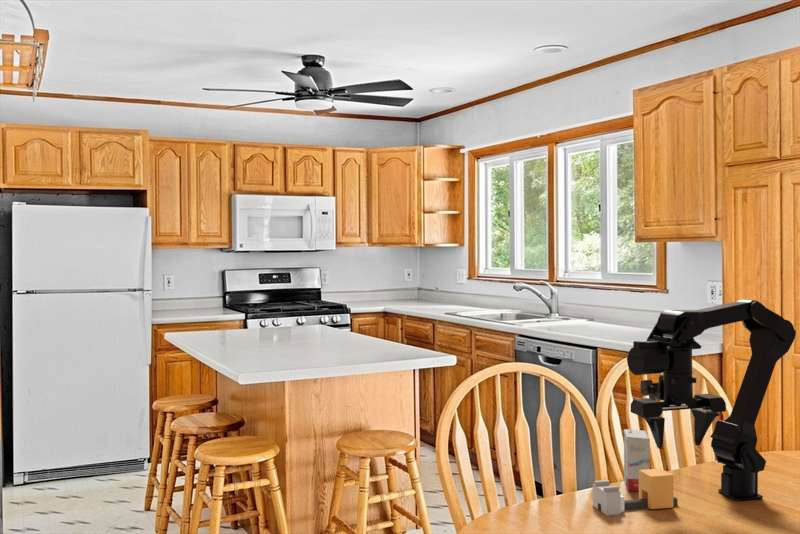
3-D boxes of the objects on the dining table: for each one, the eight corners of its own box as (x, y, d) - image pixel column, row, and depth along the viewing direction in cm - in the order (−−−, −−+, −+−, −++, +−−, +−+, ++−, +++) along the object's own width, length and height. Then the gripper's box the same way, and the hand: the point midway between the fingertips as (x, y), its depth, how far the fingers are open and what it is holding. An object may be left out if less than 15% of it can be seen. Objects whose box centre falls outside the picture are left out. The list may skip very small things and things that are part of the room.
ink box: (650, 492, 166) (650, 438, 165) (627, 491, 167) (627, 437, 166) (645, 481, 174) (646, 429, 174) (623, 479, 175) (623, 428, 175)
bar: (673, 503, 159) (673, 496, 159) (677, 505, 157) (677, 498, 157) (597, 509, 155) (597, 502, 155) (601, 511, 154) (601, 504, 154)
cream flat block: (615, 505, 157) (615, 491, 157) (624, 511, 154) (624, 496, 154) (611, 506, 157) (611, 491, 157) (619, 512, 153) (619, 497, 153)
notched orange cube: (660, 499, 160) (660, 468, 160) (673, 507, 155) (673, 474, 155) (638, 501, 159) (638, 469, 159) (650, 509, 154) (651, 476, 154)
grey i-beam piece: (606, 504, 158) (606, 479, 158) (620, 514, 152) (620, 487, 152) (592, 505, 157) (592, 480, 157) (606, 515, 152) (606, 488, 151)
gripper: (694, 363, 168) (695, 434, 168) (616, 368, 163) (617, 441, 164) (727, 371, 157) (728, 447, 157) (644, 376, 153) (645, 454, 153)
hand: (678, 446), depth 158 cm, fingers open, 8 cm apart
